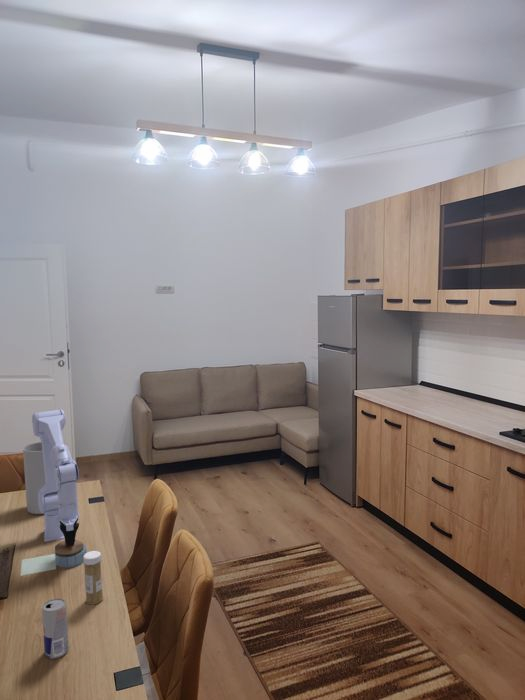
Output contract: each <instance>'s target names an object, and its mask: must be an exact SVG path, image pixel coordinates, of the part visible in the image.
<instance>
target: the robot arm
mask: <svg viewBox="0 0 525 700" xmlns="http://www.w3.org/2000/svg"><path fill="white" fill-rule="evenodd" d="M31 417H32V419H31V420H32V421H31V423H32V429H33V432H32V433H33V435H34V437H37V438H38V437H39V439H40V442H42V451H43V461H44V470H45V479H46V484H45V485H44V486H43V487H42V488H41V489H40V490H39V492H38V504H39V510H40V512H41V513H44V514H43V517H44V529H43V530H44V531H43V532H44V533H43V535H44V537H43V538H44V539H43V541H44V542H45V543H46V542H51V541H58V540H64V541H66V544H67V546H71V545H74V543H75V540H76V537H77V531H78V530H79V526H80V522H78V521H79V517H80V513H79V500H78V481H79V478H80V471H79V467H78V464H77V462H76V461H75V460H74V459H73V458H72V454H71V451H70V447H69V446H68V445H66V444H65V443H64V438H63V430H64V428H65V425H66V414H65V411H64V410H63V409H62V408H59V409H54V410H47V411H46V410H45V411H41V412H40V411H39V412H33V413H32V416H31ZM54 491H57V492H54ZM49 492H53V493H49ZM46 493H48V494H46Z"/></svg>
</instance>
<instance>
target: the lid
mask: <svg viewBox="0 0 525 700" xmlns="http://www.w3.org/2000/svg"><path fill="white" fill-rule="evenodd" d="M83 544H84V543H83V542H82V541H81V540H79V539H75V543H74V545H71V546H67V544H66V541H65V540H63V541H61V542H58V543H57V544H56V545H55V547H54V553H55V552H56V553H57V554H60V555H71V554H75V553H78V552H80V551H81V550H82V549H83Z"/></svg>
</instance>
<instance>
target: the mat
mask: <svg viewBox="0 0 525 700" xmlns="http://www.w3.org/2000/svg"><path fill="white" fill-rule="evenodd" d="M20 565H21V567H20V568H21V569H20V577H22V576H28V575H32V574H33V575H34V574H37V573H43V572H48V571H52V570H56V569H57V565H56V559H55V553H51V554H47V555H46V554H45V555H40V556H36V557H31V558H30V557H29V558H25V559H21V564H20Z"/></svg>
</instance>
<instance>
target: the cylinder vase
mask: <svg viewBox="0 0 525 700" xmlns="http://www.w3.org/2000/svg"><path fill="white" fill-rule="evenodd" d="M22 455H23V456H22V457H23V469H24V471H23V472H24V483H25V484H24V486H25V500H26V510H27V512H28V513H30V514H31V515H44V513H41V512H40V510H39V504H38V492H39V490H40V489H41V488H42V487H43V486H44V485H45V484H46V479H45V470H44V461H43V451H42V442H41V441H39V442H34V443H30V444H26V445H25V446H23V447H22ZM54 492H57V491H54ZM49 493H53V492H49ZM46 494H48V493H46Z"/></svg>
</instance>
